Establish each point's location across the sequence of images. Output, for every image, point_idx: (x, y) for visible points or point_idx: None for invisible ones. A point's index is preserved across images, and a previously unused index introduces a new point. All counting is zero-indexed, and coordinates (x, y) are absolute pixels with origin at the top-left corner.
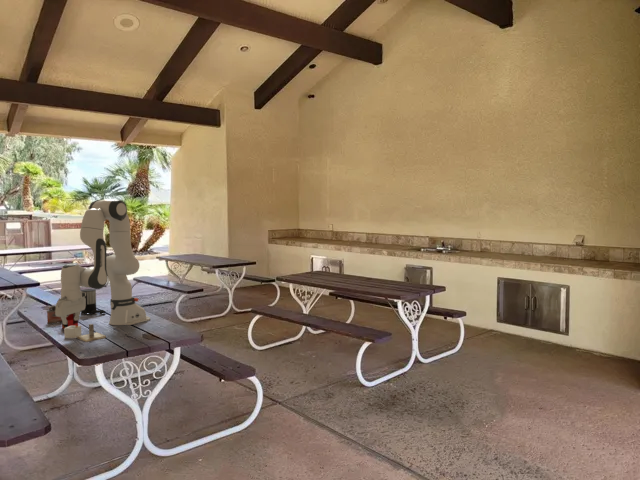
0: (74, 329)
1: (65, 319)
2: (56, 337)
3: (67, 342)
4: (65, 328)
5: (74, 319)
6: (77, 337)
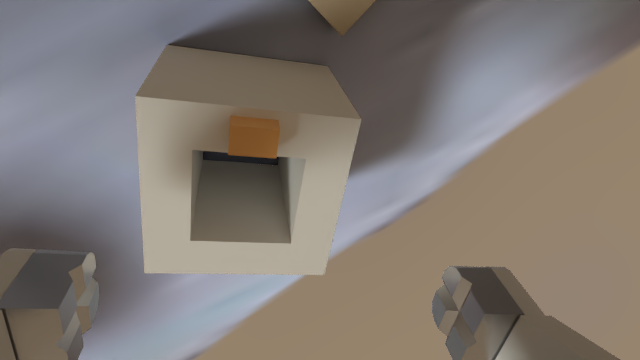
0: (355, 114)
1: (593, 345)
2: (275, 274)
3: (510, 67)
4: (327, 257)
5: (92, 314)
6: (343, 26)
